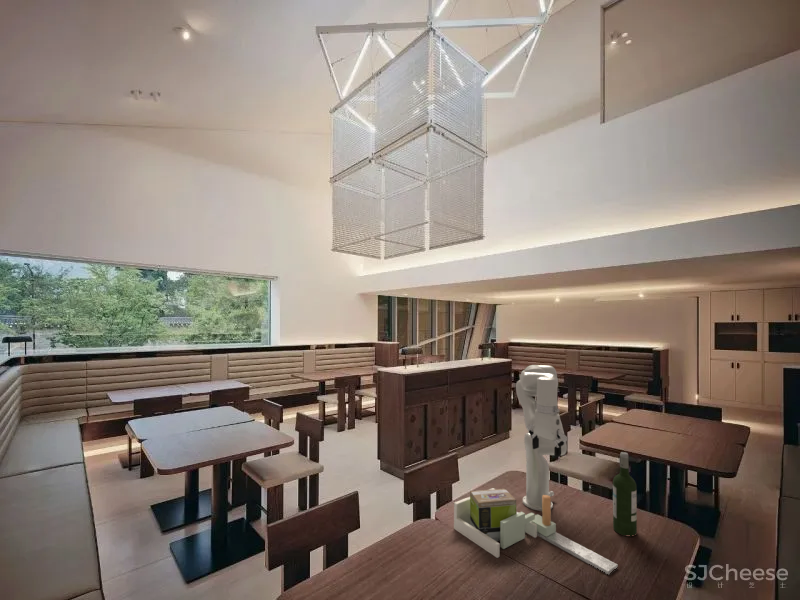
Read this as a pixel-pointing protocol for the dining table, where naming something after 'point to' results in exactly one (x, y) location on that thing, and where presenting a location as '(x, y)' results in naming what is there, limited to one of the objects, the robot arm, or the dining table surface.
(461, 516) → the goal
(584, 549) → the rail
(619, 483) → the wine bottle
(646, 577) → the dining table surface
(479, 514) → the tea box
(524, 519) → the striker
